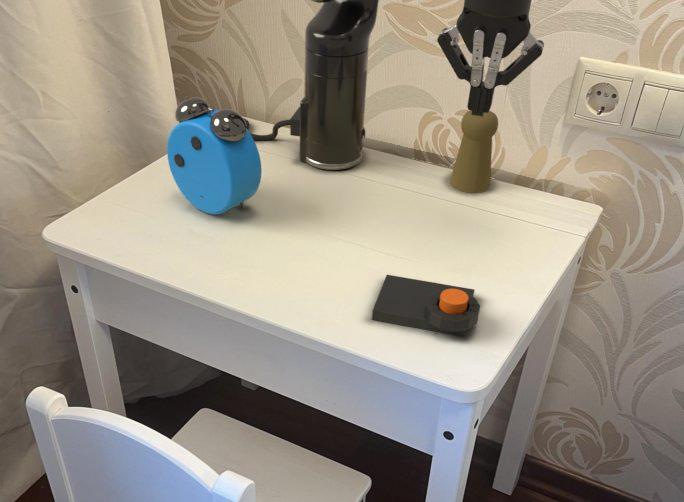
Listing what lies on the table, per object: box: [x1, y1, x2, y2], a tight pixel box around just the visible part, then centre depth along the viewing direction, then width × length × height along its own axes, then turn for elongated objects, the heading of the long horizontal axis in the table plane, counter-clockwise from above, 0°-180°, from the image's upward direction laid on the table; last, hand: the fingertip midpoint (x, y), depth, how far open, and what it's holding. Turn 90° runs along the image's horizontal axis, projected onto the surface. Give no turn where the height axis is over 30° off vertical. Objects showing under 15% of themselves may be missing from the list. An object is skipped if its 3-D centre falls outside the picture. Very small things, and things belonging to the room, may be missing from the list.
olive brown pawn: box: [449, 110, 499, 194], centre depth 121 cm, size 6×6×11 cm
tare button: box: [439, 289, 468, 315], centre depth 96 cm, size 3×3×2 cm
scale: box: [371, 274, 481, 337], centre depth 99 cm, size 12×9×3 cm
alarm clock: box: [166, 95, 263, 215], centre depth 114 cm, size 13×6×15 cm, turn 49°
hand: (477, 113), depth 104 cm, fingers closed
